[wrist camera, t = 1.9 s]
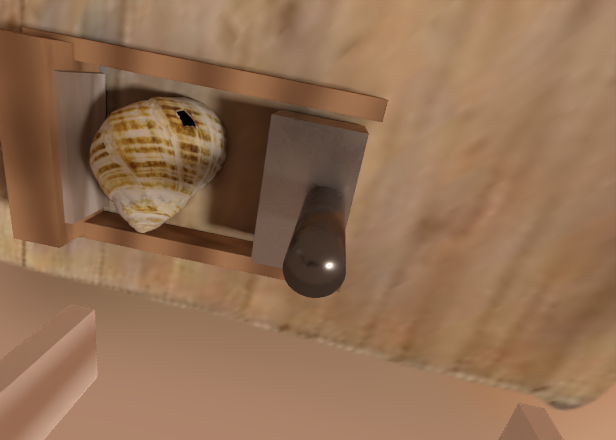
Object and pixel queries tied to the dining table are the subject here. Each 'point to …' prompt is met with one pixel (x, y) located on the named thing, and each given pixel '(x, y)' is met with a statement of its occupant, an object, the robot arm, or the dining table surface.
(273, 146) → the grey plunger
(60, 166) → the press frame
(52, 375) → the robot arm
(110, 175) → the seashell
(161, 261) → the dining table surface
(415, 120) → the dining table surface
